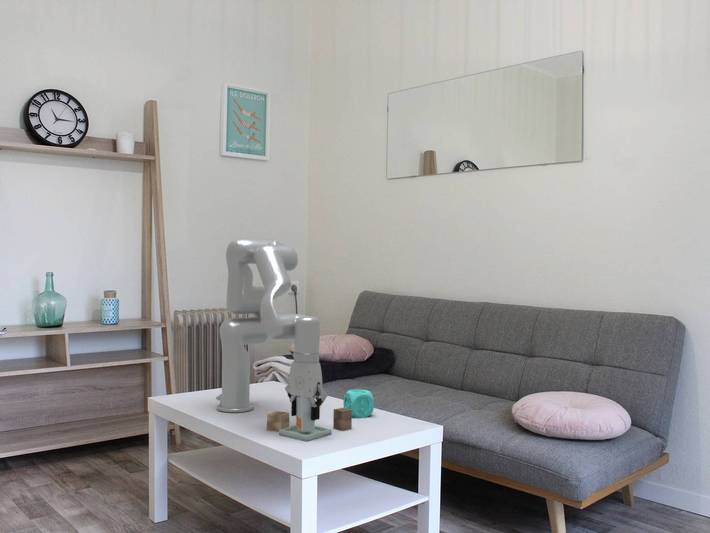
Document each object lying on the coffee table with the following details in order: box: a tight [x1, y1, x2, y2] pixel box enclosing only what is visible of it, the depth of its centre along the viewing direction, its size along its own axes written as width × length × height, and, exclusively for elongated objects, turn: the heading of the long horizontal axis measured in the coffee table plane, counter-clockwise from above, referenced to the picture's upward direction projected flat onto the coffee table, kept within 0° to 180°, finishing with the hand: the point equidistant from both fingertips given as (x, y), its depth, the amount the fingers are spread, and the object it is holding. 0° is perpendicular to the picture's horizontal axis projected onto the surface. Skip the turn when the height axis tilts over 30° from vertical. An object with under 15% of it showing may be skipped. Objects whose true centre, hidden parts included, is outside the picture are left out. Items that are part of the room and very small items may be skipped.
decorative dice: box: [343, 389, 375, 419], centre depth 227 cm, size 8×8×8 cm
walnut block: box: [332, 407, 353, 432], centre depth 208 cm, size 4×4×6 cm
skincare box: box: [295, 391, 316, 432], centre depth 200 cm, size 6×4×12 cm
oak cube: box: [266, 410, 290, 433], centre depth 206 cm, size 5×5×5 cm
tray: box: [278, 425, 333, 442], centre depth 200 cm, size 11×11×2 cm
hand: (305, 417), depth 200 cm, fingers open, 7 cm apart
